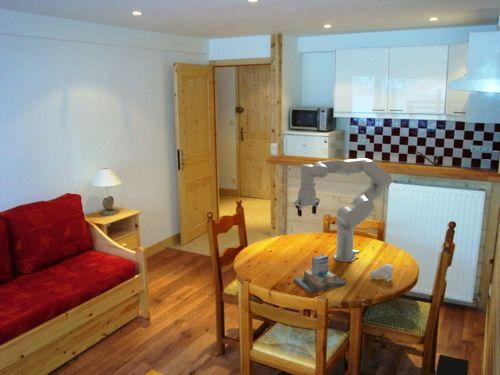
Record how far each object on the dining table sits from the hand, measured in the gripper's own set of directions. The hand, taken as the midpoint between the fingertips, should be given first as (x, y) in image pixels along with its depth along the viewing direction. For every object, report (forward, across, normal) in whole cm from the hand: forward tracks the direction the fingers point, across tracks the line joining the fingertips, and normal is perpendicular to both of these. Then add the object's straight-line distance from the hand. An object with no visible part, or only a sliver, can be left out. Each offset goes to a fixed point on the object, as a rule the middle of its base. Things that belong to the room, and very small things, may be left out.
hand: (306, 214), depth 265 cm
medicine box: (+22, +11, +29) cm, 39 cm away
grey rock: (+28, -21, +40) cm, 54 cm away
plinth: (+28, +11, +30) cm, 42 cm away
